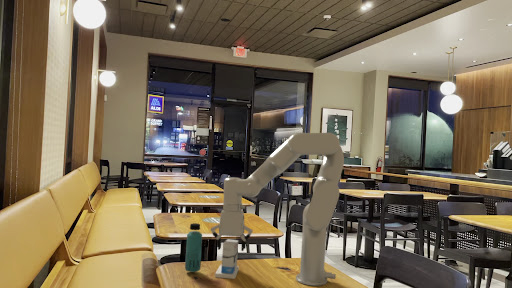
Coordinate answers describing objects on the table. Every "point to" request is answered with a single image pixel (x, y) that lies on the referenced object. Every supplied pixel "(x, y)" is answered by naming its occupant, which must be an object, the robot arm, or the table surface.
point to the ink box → (229, 256)
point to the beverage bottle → (193, 249)
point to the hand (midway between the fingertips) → (231, 249)
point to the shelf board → (226, 275)
